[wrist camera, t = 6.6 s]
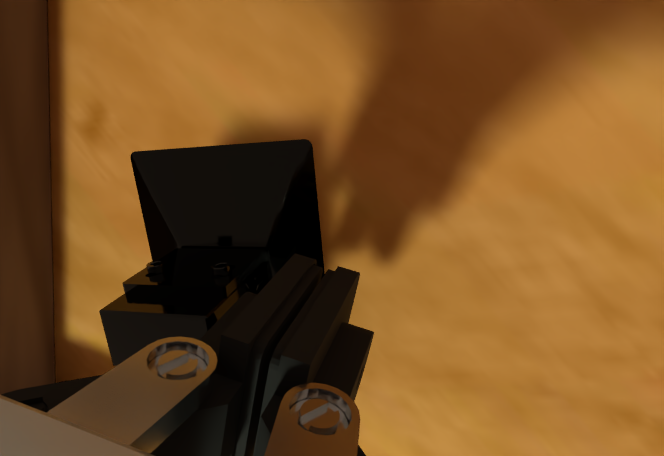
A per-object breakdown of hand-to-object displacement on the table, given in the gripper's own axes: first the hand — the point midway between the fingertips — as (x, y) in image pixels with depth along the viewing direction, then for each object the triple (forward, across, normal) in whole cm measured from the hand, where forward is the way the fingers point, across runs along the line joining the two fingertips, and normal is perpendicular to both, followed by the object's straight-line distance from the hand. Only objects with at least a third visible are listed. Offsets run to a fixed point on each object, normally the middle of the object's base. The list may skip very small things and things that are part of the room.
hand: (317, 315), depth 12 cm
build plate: (+3, +3, +2) cm, 5 cm away
